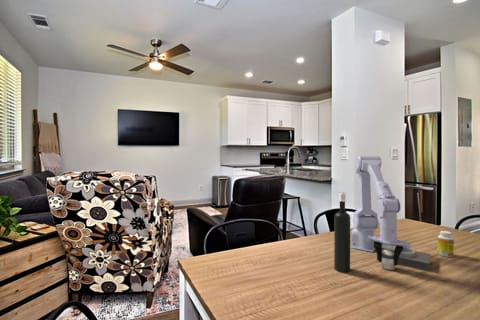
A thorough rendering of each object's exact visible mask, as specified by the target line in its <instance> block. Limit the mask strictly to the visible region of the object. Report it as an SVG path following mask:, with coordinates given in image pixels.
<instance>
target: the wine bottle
mask: <svg viewBox="0 0 480 320" xmlns="http://www.w3.org/2000/svg"><path fill="white" fill-rule="evenodd" d="M338 195H339V211H338V212H336V213H335V214H334V219H333V220H334V223H333V225H334V226H333V229H334V232H333V233H334V234H333V235H334V237H333V238H334V239H333V240H334V241H333V242H334V243H333V245H334V249H333V251H334V253H333V254H334V255H333V258H334V260H333V261H334V262H333V263H334V264H333V265H334V266H333V267H334V268H333V269H334V270H335V271H337V272H339V273H350V272H351V215H350V214H349V213H348V212H346V192H344V191H343V192H342V191H341V192H339V194H338Z"/></svg>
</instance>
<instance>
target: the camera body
mask: <svg viewBox="0 0 480 320" xmlns="http://www.w3.org/2000/svg"><path fill="white" fill-rule="evenodd" d="M383 247H387V248H392V249H393V247H395V246H392V245H387V244H382V248H383ZM414 251H415V256H414V257H403V256H399V258H398V263H397V266H402V265H403V266H404V267H407V268H412V269H416V270H422V271H426V272H430V270H431V261H432V260H431V258H432V254H431V253H427V252H421V251H416V250H414ZM402 252H405V253H409V252H406V251H402ZM376 260H377V261H379V258H378V255H377V254H376Z"/></svg>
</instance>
